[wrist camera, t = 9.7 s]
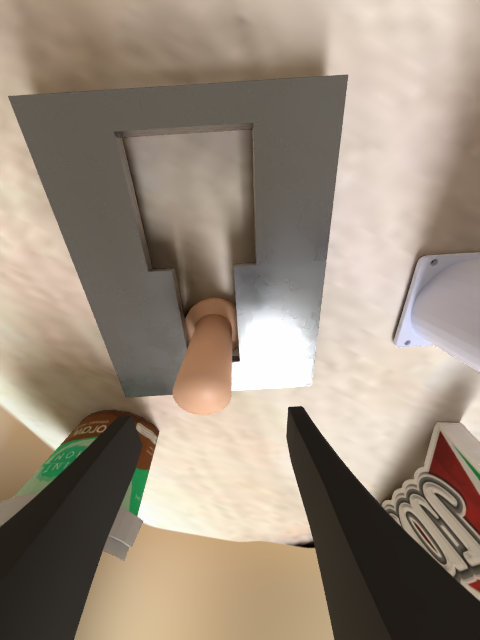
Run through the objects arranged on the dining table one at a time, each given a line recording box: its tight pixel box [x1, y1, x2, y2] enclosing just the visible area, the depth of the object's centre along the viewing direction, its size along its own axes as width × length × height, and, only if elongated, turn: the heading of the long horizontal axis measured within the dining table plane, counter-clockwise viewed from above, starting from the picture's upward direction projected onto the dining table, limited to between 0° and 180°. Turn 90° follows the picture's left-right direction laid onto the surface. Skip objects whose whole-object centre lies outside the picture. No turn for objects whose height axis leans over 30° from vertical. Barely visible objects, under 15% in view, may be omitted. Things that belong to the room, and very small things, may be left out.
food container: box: [0, 410, 159, 561], centre depth 18 cm, size 12×6×10 cm, turn 108°
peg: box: [173, 298, 239, 415], centre depth 14 cm, size 5×5×8 cm
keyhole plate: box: [8, 75, 348, 397], centre depth 15 cm, size 16×19×2 cm
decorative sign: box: [382, 422, 480, 600], centre depth 23 cm, size 23×3×15 cm, turn 175°
